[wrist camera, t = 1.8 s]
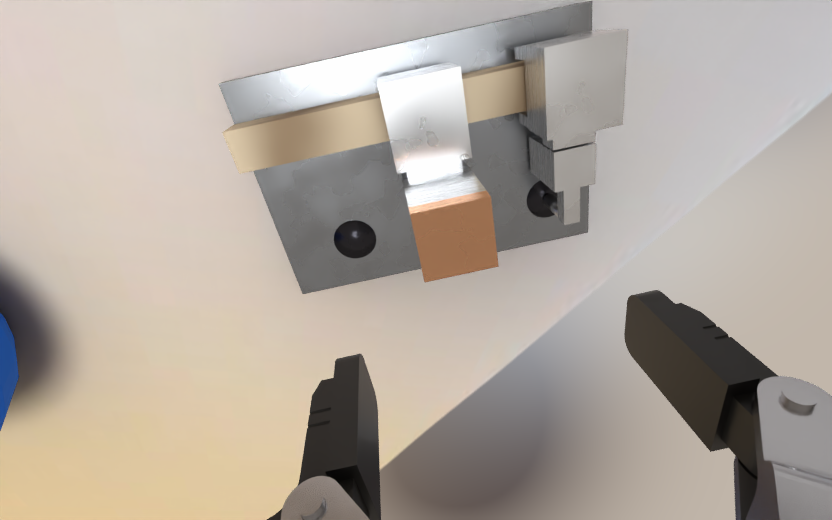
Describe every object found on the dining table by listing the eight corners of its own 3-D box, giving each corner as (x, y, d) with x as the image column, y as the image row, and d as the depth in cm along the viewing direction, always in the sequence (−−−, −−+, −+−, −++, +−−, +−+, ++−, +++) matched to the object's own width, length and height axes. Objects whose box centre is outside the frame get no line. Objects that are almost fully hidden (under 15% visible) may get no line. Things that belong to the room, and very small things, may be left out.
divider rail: (591, 45, 25) (611, 46, 23) (590, 87, 26) (609, 92, 24) (234, 124, 25) (222, 132, 23) (250, 162, 26) (239, 173, 24)
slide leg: (442, 59, 24) (483, 74, 15) (466, 223, 29) (506, 302, 21) (375, 74, 24) (379, 97, 15) (411, 235, 29) (428, 319, 21)
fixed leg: (577, 30, 24) (628, 29, 19) (576, 199, 29) (616, 230, 24) (510, 45, 24) (544, 47, 19) (521, 211, 29) (550, 245, 24)
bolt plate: (584, 1, 24) (592, 0, 23) (582, 226, 32) (588, 232, 31) (223, 81, 25) (218, 83, 24) (304, 287, 32) (302, 294, 31)
